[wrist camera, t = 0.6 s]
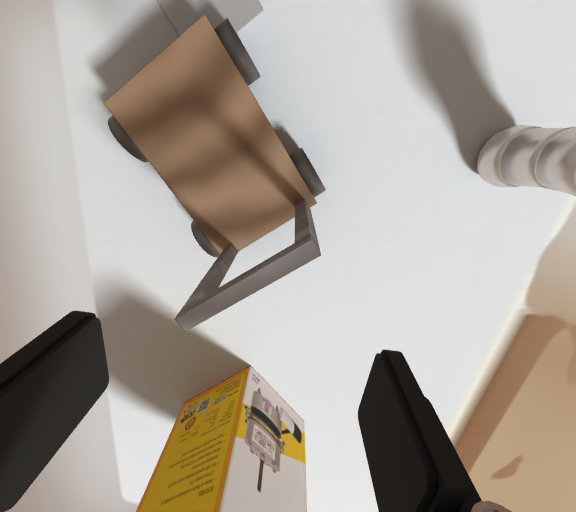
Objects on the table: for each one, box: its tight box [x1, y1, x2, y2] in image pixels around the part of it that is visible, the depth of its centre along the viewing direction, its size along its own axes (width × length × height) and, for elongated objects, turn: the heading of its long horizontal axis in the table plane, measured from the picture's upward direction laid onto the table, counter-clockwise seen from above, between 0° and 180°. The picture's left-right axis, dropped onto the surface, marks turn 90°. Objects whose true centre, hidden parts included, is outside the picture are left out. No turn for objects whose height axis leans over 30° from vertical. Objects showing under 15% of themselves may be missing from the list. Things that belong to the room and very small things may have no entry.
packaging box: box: [136, 366, 307, 512], centre depth 40 cm, size 16×16×25 cm
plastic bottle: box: [477, 125, 576, 196], centre depth 24 cm, size 6×7×20 cm
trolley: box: [104, 15, 326, 331], centre depth 25 cm, size 20×16×21 cm
